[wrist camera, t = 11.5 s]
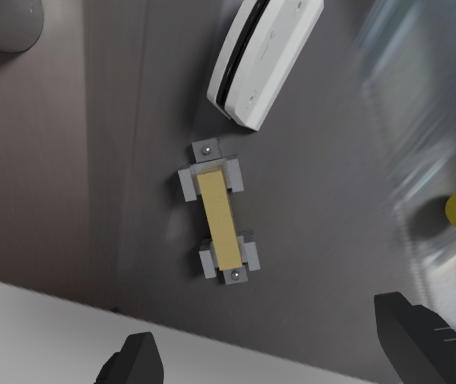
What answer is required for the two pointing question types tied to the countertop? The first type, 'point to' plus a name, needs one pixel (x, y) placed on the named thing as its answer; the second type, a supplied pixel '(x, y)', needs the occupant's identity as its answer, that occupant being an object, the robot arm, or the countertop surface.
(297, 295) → the countertop surface
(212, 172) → the link bar
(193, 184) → the linkage with metal pins
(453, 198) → the lemon
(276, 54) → the white rounded housing
